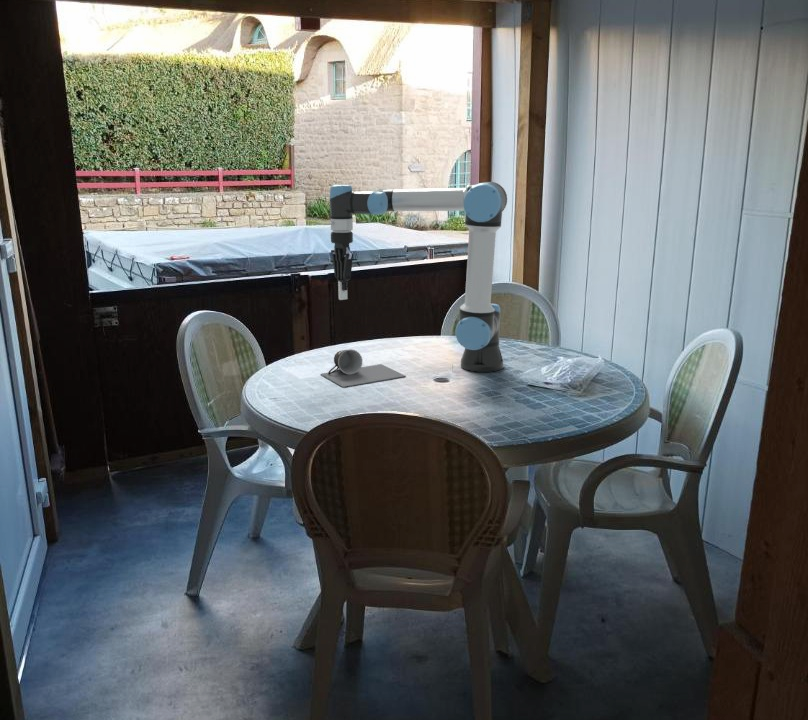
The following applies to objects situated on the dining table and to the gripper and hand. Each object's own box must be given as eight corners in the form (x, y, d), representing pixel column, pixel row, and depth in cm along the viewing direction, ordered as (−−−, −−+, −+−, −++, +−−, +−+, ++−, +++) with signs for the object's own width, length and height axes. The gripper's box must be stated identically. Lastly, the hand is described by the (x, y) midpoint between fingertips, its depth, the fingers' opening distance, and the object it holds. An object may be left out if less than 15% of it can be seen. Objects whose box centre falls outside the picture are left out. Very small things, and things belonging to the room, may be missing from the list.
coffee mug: (353, 345, 269) (361, 348, 260) (355, 369, 270) (363, 372, 261) (321, 349, 265) (328, 351, 256) (323, 373, 266) (330, 377, 257)
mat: (405, 376, 259) (405, 375, 258) (342, 387, 247) (342, 386, 246) (381, 365, 273) (381, 364, 272) (320, 374, 261) (320, 373, 260)
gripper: (323, 230, 262) (325, 297, 269) (340, 233, 252) (341, 303, 258) (342, 228, 266) (344, 295, 272) (360, 232, 255) (361, 301, 262)
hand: (343, 299), depth 265 cm, fingers closed
